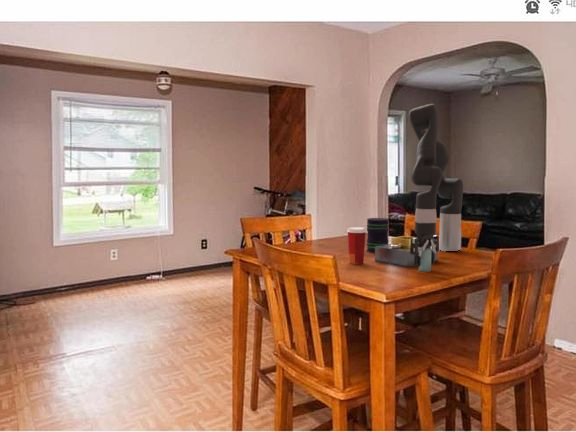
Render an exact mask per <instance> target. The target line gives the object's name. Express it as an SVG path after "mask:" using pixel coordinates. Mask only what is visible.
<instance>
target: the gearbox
mask: <svg viewBox="0 0 576 432" xmlns="http://www.w3.org/2000/svg"><path fill="white" fill-rule="evenodd" d="M411 238H417V236H408V235H402V236H396V237H391V240H390V242H391V244H390V243H388V245H382V246H375V253H374V261H375V262H379V263H383V264H384V263H385V264H389V265H394V266H399V267H403V268H404V267H405V268H409V267H413V266H415V265H414V255H412V254H410V247H411ZM419 248H420V247H419ZM435 248H436V245H435ZM414 250H415V248H413V251H414ZM418 252H419V251H418ZM438 252H439V251H436V253H435V261H434V262H437V261H438Z"/></svg>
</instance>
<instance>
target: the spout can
mask: <svg viewBox="0 0 576 432" xmlns="http://www.w3.org/2000/svg"><path fill="white" fill-rule="evenodd" d="M420 256H421V266H418V272H419V271H420V272H423V273H427V272H428V273H429V272H431V271H432V263H431V249H429V248H426V249H424V251H423V252H422V253H421V255H420Z"/></svg>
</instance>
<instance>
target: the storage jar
mask: <svg viewBox="0 0 576 432" xmlns="http://www.w3.org/2000/svg"><path fill="white" fill-rule="evenodd" d="M366 221H367V222H366V223H367V224H366V232H367V237H366V238H367V239H366V252H367V253H372V254H375V246H382V245H388V244H389V239H388V238H389V230H390V229H389V226H390V225H389V224H390V223H389V222H390V221H389V218H387V217H386V218H384V217H369V218H367V219H366Z"/></svg>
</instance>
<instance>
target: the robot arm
mask: <svg viewBox="0 0 576 432" xmlns="http://www.w3.org/2000/svg"><path fill="white" fill-rule="evenodd" d="M408 118H409V123H410V125H411V128H412V129H413V132H414V135H415V136H416V138H417V140H418V144H417V146H416V162H415V164H414V167H413V169H412V173H411V181H412V184H414V185H415V186H420V187H421V186H425V187H428V186H431V187H430V189H429V190H427V191H421V192H418V193H417V194H416V196H415V214H414V234H415V235H416V237H417V238H411V247H410V254H412V255H414V266H415V267H419V266H421V256H420V255H421V253H422V252H423V251H424V249H426V248H429V249H431V265H432V264H435V262H436V261H435V253H436V251H438V252H440V250H441V252H446V251H458V250H460V249H461V250H462V208H463V199H464V198H463V195H464V182H463V180H462V178H457V177H456V178H454V177H453V178H448V177H447V178H446V177H445V176H444V172H445V170H446V168H447V166H448V164H449V161H450V156H449V154H448V153H449V152H448V151H447V147H446V145H445V144H444V143H443V142H442V141H441V140H439V139H438V133H439V127H440V126H439V125H440V114H439V110H438V107H437V106H436V104H434V103H428V104H425V105H421V106H418V107H415V108H411V109H410V110H409V112H408ZM437 195H438V197H439V198H441V199H452V200H451V202H450V203H449V204H446V205H443V206H440V207H439V209H440V210H439V235H436V234H437ZM435 246H436V248H435ZM419 247H420V248H419ZM413 248H415V250H414V251H413ZM461 250H460V251H461ZM418 251H419V252H418ZM458 252H459V251H458Z"/></svg>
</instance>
